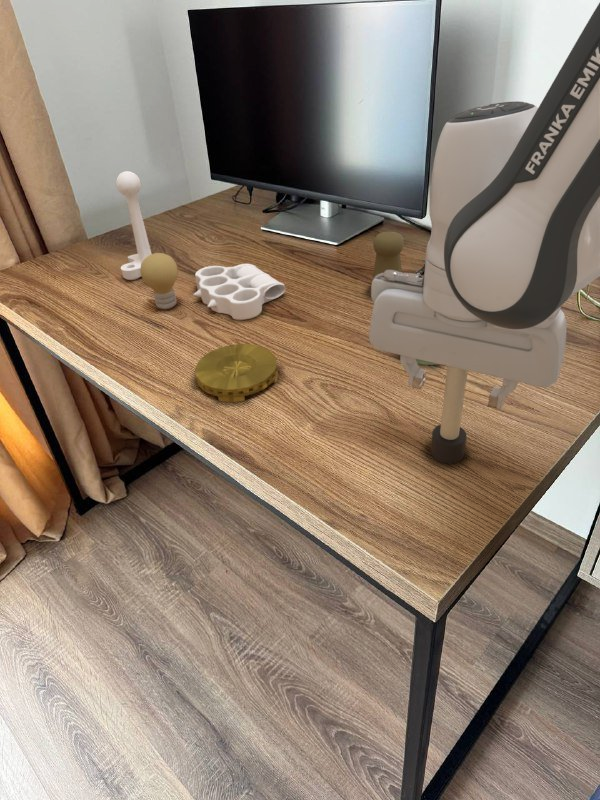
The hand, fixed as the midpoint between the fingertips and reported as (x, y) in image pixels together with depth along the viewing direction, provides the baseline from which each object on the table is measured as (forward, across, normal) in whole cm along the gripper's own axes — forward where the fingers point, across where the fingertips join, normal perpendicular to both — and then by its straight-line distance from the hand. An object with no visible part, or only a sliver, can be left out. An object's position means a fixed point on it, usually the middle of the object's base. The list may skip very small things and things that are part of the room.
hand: (455, 395), depth 66 cm
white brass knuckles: (+9, -48, +25) cm, 55 cm away
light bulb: (+9, -58, +17) cm, 61 cm away
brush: (+9, 0, 0) cm, 9 cm away
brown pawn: (+9, -23, +37) cm, 44 cm away
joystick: (+9, -72, +26) cm, 77 cm away
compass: (+9, -33, +3) cm, 34 cm away
